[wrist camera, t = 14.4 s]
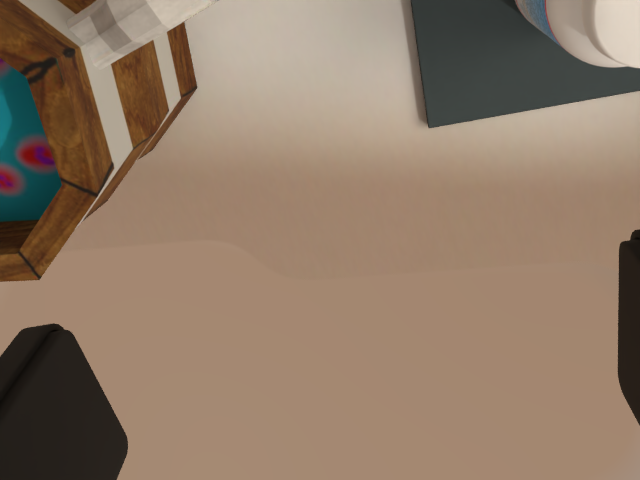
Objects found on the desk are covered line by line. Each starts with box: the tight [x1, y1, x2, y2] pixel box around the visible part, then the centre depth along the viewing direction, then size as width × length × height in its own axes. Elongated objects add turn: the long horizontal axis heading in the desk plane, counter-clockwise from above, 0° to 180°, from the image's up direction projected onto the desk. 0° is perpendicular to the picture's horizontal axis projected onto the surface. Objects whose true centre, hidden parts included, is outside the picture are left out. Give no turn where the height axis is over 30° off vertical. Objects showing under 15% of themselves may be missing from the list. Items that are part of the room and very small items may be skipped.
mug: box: [0, 0, 218, 282], centre depth 28 cm, size 20×14×15 cm
